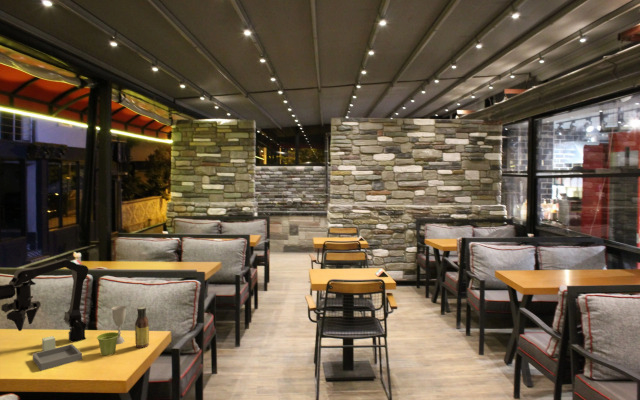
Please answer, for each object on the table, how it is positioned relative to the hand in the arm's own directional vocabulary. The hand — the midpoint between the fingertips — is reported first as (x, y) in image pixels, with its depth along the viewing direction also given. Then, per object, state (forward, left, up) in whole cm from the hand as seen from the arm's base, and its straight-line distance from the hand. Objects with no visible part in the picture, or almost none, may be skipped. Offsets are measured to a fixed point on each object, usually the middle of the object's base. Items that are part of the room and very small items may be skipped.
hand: (25, 327), depth 191 cm
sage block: (-9, +4, -13) cm, 16 cm away
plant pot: (-28, +29, -13) cm, 42 cm away
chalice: (-37, +18, -13) cm, 43 cm away
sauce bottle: (-43, +32, -13) cm, 55 cm away
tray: (-9, +20, -13) cm, 25 cm away
